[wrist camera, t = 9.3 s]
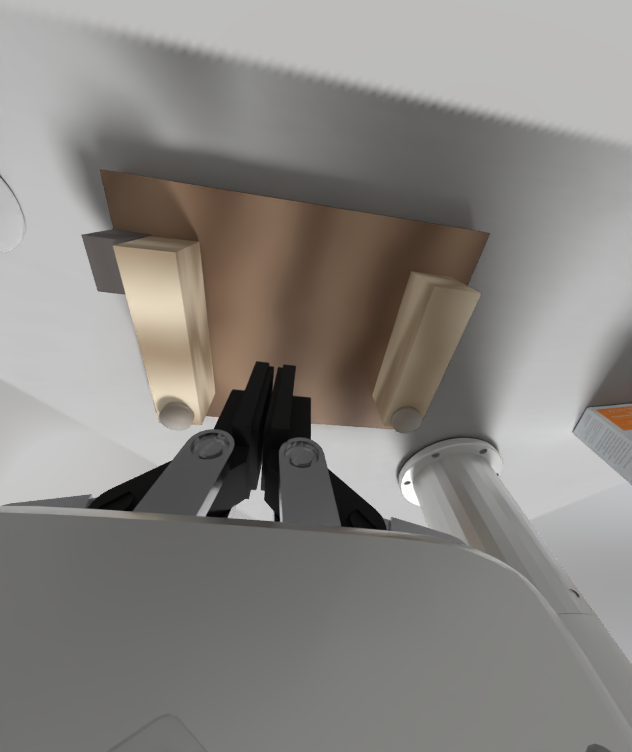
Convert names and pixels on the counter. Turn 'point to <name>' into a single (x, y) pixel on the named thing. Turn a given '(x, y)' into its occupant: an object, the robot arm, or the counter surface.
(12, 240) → the beer glass
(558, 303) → the counter surface
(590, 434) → the skincare box
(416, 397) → the stool frame
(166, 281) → the hinged leg
